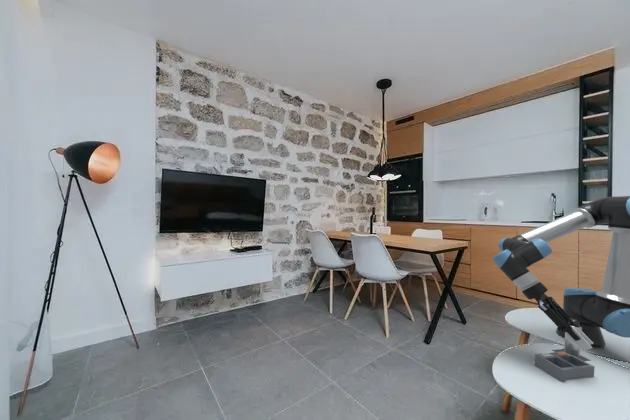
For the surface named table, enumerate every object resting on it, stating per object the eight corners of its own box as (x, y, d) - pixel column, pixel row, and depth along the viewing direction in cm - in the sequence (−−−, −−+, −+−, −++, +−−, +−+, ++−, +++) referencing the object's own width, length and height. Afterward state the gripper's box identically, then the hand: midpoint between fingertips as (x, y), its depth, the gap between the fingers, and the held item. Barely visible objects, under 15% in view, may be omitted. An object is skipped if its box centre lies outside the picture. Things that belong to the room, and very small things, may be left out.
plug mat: (566, 349, 105) (567, 348, 105) (591, 361, 97) (591, 360, 97) (551, 351, 104) (551, 350, 104) (574, 363, 96) (575, 362, 96)
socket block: (563, 361, 97) (564, 350, 97) (593, 377, 88) (594, 365, 88) (534, 364, 94) (535, 353, 94) (562, 381, 85) (563, 368, 85)
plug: (569, 349, 93) (571, 317, 93) (582, 355, 89) (585, 322, 89) (560, 350, 92) (563, 317, 92) (574, 356, 88) (576, 322, 88)
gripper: (526, 287, 107) (579, 343, 95) (515, 294, 97) (573, 359, 84) (543, 277, 103) (602, 335, 91) (534, 285, 93) (598, 351, 80)
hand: (588, 346), depth 88 cm, fingers closed on plug, 4 cm apart
